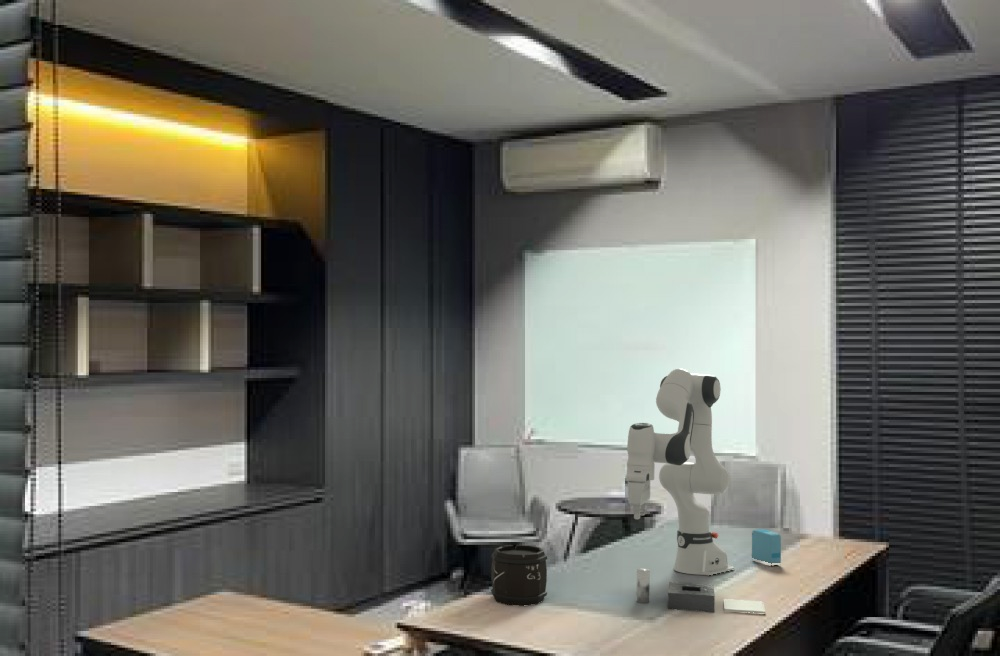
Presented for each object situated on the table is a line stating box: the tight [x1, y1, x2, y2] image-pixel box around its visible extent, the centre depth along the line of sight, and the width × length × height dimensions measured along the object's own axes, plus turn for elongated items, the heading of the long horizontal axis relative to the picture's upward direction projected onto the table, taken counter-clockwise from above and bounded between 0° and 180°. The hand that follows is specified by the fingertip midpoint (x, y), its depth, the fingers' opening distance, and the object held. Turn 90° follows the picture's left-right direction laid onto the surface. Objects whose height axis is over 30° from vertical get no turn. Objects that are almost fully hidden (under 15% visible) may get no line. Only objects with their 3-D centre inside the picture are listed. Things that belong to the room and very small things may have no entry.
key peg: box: [636, 567, 651, 604], centre depth 294 cm, size 4×4×10 cm
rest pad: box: [723, 598, 766, 614], centre depth 288 cm, size 12×12×1 cm
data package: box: [751, 528, 782, 564], centre depth 352 cm, size 12×4×12 cm, turn 20°
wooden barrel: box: [490, 544, 548, 607], centre depth 295 cm, size 18×18×16 cm
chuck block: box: [667, 581, 716, 613], centre depth 291 cm, size 14×14×5 cm
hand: (639, 517), depth 299 cm, fingers open, 8 cm apart
